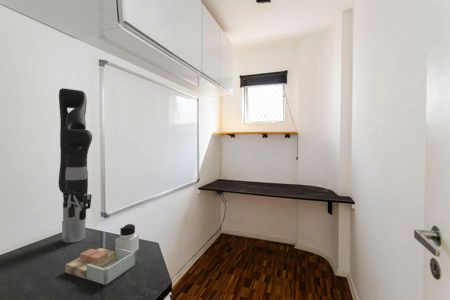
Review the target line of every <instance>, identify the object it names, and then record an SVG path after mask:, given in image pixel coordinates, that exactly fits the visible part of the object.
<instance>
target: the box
mask: <svg viewBox="0 0 450 300" xmlns="http://www.w3.org/2000/svg"><path fill="white" fill-rule="evenodd" d="M135 265H136V252H133V251H129V250H125V249H121V248H117V249H116V260H115V261H113V262H111V263H110V264H108V265H106V266H105V267H103V268H101V267H98V266H95V265H91V264H87V265H86V279H85V280H89V281H93V282H96V283H98V284H102V285H103V286H106V285H107V284H110V283H111V282H112V281H113V280H115V279H116V278H118V277H120V275H122V274H124V273H125V272H127V271H128V270H129V269H131V268H132V267H134V266H135Z"/></svg>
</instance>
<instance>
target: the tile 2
mask: <svg viewBox="0 0 450 300" xmlns="http://www.w3.org/2000/svg"><path fill="white" fill-rule="evenodd" d="M107 258H108V253H107V252H103V251H98V252H96V253H94V254H93V255H91V256H89V261H90V262H93V263H97V264H98V263H100V262H102V261H103V260H105V259H107Z"/></svg>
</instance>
